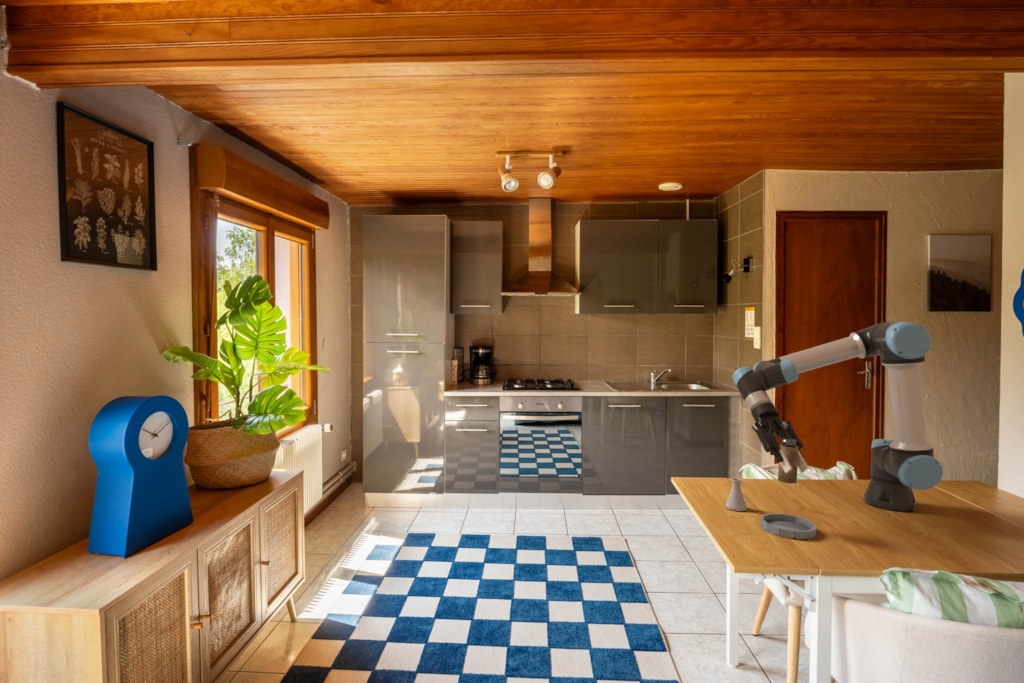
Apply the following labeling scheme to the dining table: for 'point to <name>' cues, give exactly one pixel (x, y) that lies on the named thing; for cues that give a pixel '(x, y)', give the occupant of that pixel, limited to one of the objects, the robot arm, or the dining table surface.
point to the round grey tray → (788, 526)
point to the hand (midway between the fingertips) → (797, 470)
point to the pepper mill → (792, 456)
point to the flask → (736, 497)
